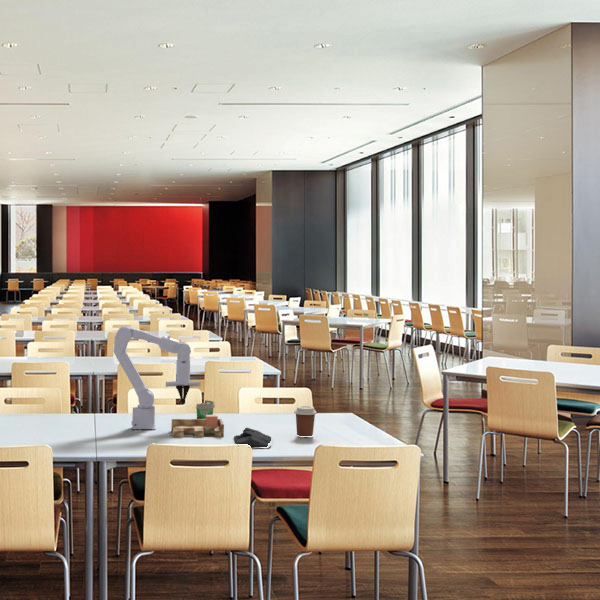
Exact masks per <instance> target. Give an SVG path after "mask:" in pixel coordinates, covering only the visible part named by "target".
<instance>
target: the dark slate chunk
mask: <svg viewBox="0 0 600 600" xmlns="http://www.w3.org/2000/svg"><path fill="white" fill-rule="evenodd" d="M271 438H272V436H270V435H267V434H265V433H262V432H261V431H260V430H257V429H253V428H250V427H245V428H244V429H243V430H242V433H240V434H238V435H235V436H233V439H234V442H235V443H236V444H237V445H238V444H248V445H250V446H251V447H267V446H268V443H270V441H271Z"/></svg>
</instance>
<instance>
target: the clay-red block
mask: <svg viewBox="0 0 600 600" xmlns="http://www.w3.org/2000/svg"><path fill="white" fill-rule="evenodd" d="M218 419H219V417H218V415H217V414H213V415H206V428H216V427H217V425H218Z"/></svg>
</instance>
